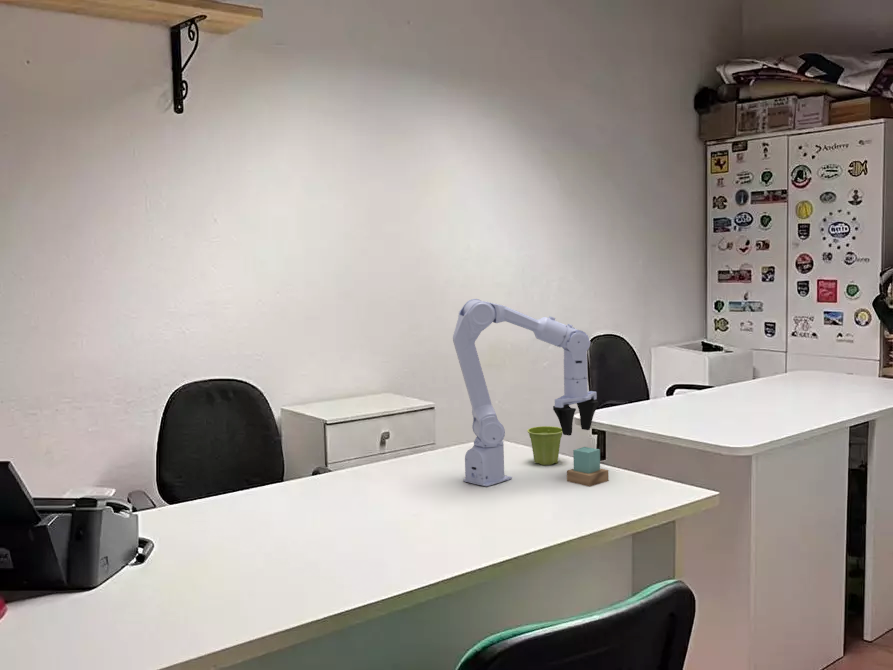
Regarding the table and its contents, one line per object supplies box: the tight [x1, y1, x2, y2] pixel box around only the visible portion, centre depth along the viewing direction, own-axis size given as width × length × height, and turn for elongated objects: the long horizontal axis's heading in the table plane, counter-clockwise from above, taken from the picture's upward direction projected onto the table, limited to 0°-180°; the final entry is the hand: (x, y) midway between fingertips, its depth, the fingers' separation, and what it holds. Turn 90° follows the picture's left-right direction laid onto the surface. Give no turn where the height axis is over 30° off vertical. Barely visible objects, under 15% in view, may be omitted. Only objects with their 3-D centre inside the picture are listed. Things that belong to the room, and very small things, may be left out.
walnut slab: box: [566, 467, 610, 488], centre depth 215 cm, size 7×7×3 cm
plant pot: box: [526, 425, 563, 466], centre depth 234 cm, size 9×9×9 cm
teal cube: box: [572, 446, 601, 473], centre depth 215 cm, size 4×4×5 cm
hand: (576, 432), depth 221 cm, fingers open, 7 cm apart
